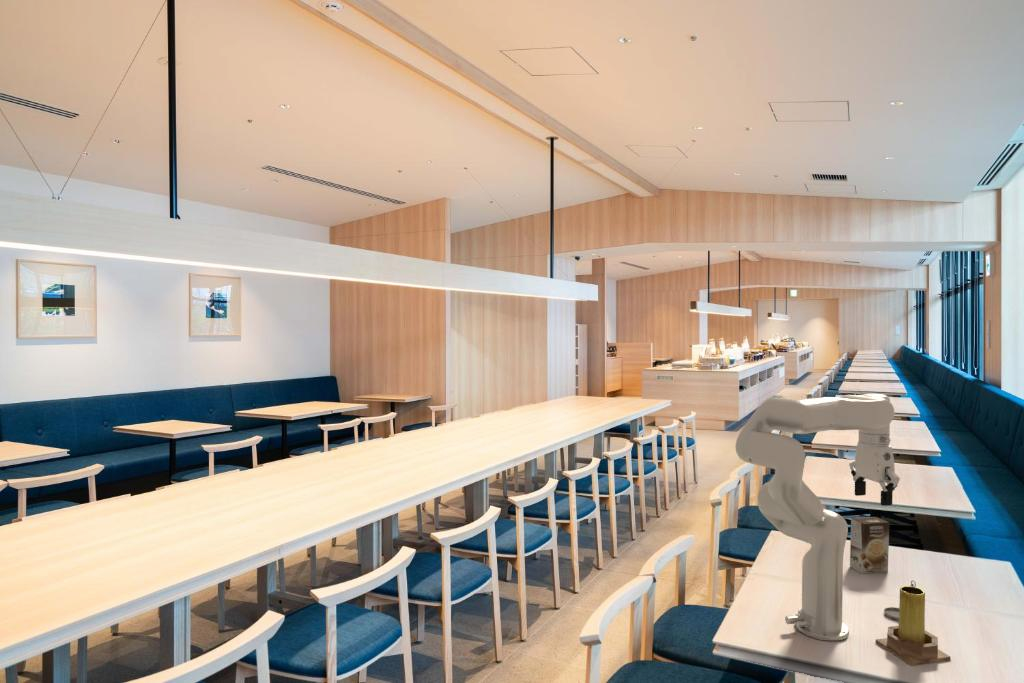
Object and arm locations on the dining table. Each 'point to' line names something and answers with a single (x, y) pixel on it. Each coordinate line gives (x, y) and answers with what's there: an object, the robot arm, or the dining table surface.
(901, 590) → the vase
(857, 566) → the coffee box
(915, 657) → the collar
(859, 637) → the dining table surface
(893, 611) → the pocket watch
